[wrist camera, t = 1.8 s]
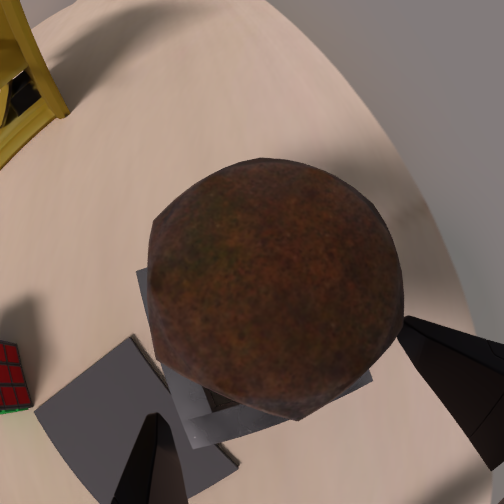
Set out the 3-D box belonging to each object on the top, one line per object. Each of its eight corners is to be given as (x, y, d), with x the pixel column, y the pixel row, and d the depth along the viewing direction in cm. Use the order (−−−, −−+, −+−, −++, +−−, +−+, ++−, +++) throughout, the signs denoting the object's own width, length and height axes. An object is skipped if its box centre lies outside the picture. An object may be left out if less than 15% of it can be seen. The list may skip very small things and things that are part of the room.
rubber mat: (238, 467, 16) (238, 469, 15) (125, 525, 13) (123, 527, 12) (131, 337, 19) (129, 337, 18) (36, 411, 16) (33, 411, 15)
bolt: (197, 349, 19) (87, 321, 5) (228, 285, 20) (206, 128, 6) (275, 383, 18) (370, 444, 4) (303, 317, 20) (431, 221, 6)
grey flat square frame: (358, 379, 18) (373, 380, 16) (198, 438, 16) (192, 449, 14) (298, 232, 22) (304, 217, 20) (146, 281, 20) (136, 271, 18)
